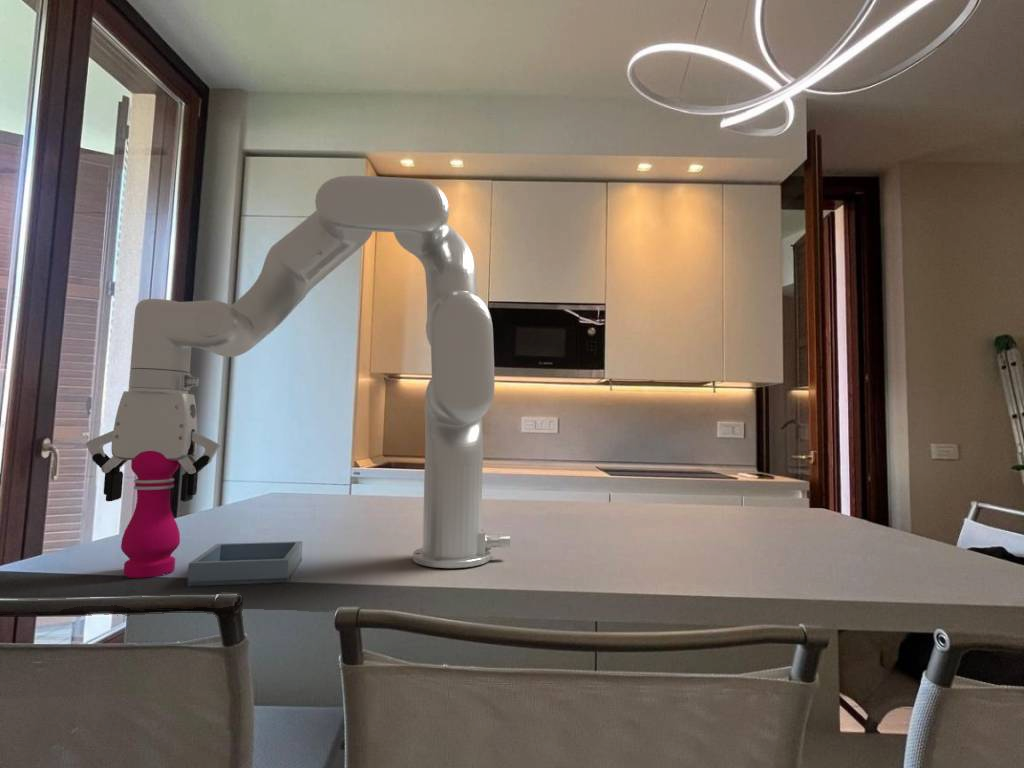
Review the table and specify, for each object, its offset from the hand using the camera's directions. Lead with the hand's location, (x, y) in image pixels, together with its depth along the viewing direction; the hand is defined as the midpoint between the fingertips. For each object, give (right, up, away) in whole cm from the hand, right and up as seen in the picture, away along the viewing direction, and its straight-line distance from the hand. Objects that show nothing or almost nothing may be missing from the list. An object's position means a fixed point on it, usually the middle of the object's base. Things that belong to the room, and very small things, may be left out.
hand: (150, 500), depth 83 cm
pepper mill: (0, -11, -1) cm, 11 cm away
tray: (+14, -11, 0) cm, 18 cm away
